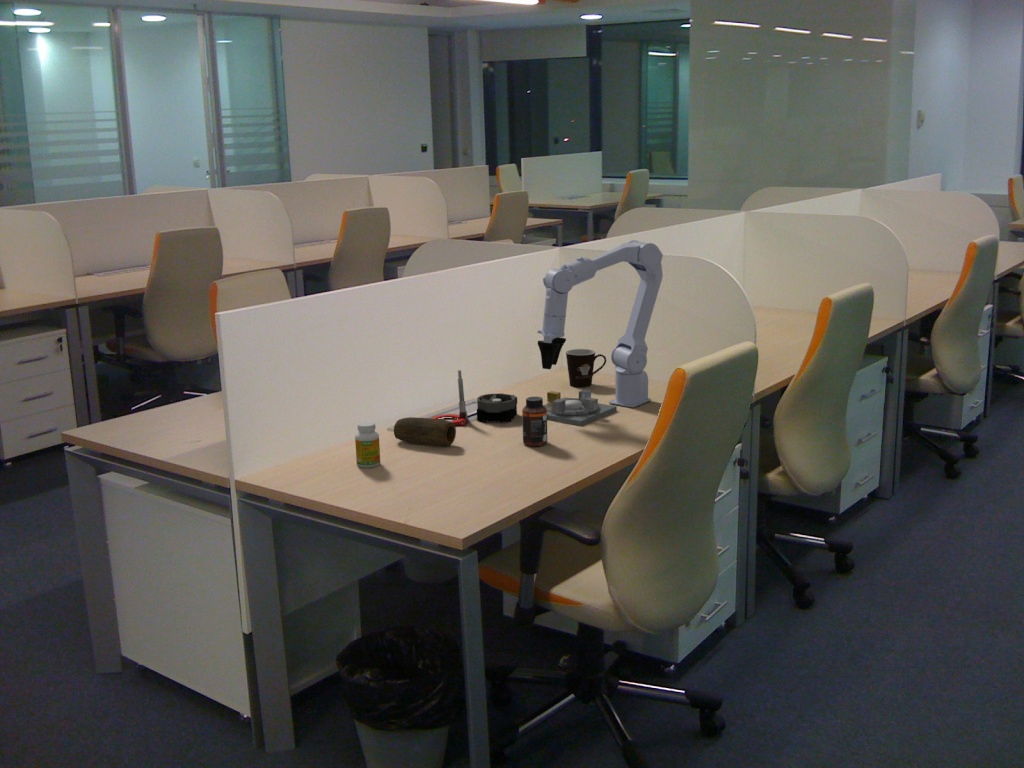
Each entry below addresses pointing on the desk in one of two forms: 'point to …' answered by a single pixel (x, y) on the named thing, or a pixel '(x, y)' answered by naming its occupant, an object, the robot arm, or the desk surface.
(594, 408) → the ring nut
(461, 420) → the tow hook
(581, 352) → the coffee mug
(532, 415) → the supplement bottle
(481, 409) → the cpu cooler
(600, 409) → the cap plate
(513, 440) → the desk surface
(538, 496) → the desk surface
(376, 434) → the supplement bottle
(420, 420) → the brown hollow cylinder
